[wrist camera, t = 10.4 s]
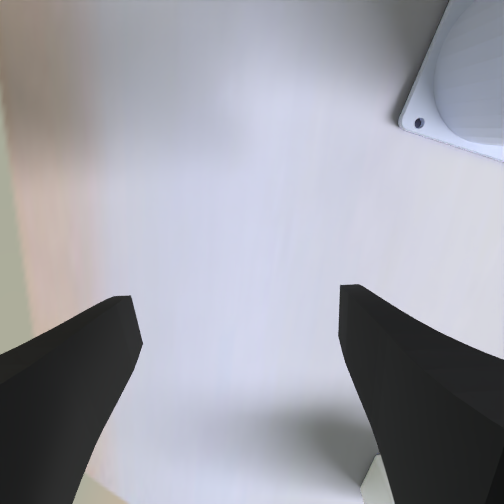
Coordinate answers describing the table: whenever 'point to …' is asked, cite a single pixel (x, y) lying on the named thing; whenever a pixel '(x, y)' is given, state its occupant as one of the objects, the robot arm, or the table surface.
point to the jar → (376, 484)
